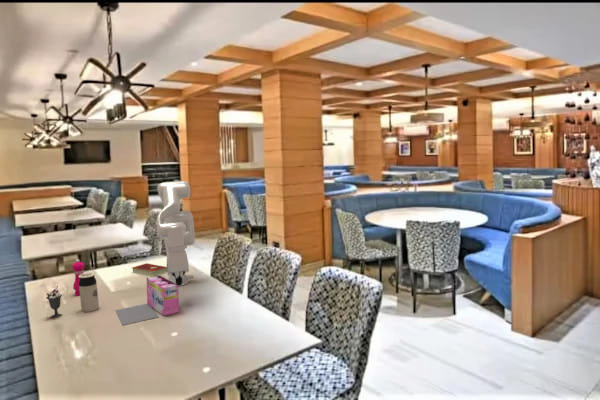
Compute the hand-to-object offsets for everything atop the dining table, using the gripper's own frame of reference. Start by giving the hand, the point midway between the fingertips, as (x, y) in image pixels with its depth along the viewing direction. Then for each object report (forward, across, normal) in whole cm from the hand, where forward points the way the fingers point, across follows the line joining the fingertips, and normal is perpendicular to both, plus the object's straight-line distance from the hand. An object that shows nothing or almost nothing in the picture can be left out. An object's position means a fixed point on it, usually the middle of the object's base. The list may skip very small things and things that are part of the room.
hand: (179, 284), depth 222 cm
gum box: (+10, +9, -1) cm, 14 cm away
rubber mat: (+11, +21, -1) cm, 24 cm away
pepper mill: (+10, +42, -52) cm, 67 cm away
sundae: (+10, +55, -22) cm, 60 cm away
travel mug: (+10, +40, -22) cm, 47 cm away
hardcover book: (+10, 0, -72) cm, 72 cm away
